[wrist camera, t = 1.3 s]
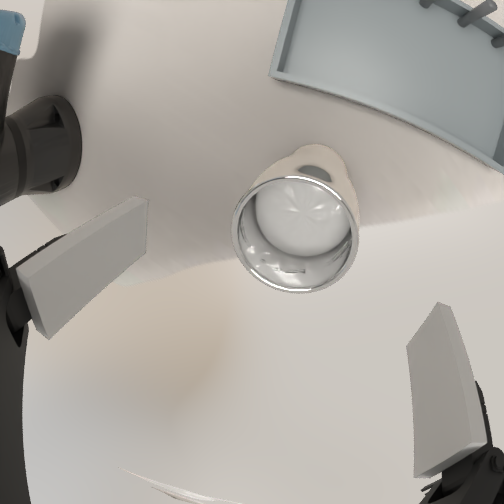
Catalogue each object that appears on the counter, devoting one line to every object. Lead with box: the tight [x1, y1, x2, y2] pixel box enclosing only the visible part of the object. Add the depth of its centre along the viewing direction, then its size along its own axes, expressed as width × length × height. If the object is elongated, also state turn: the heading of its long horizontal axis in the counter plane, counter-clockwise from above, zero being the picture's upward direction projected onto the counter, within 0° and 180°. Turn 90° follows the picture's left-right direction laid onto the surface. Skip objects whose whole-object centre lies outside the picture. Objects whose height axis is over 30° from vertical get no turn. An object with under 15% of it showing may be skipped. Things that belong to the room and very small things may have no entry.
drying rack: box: [268, 0, 504, 174], centre depth 15 cm, size 23×14×8 cm, turn 77°
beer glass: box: [231, 144, 359, 293], centre depth 21 cm, size 7×7×15 cm
